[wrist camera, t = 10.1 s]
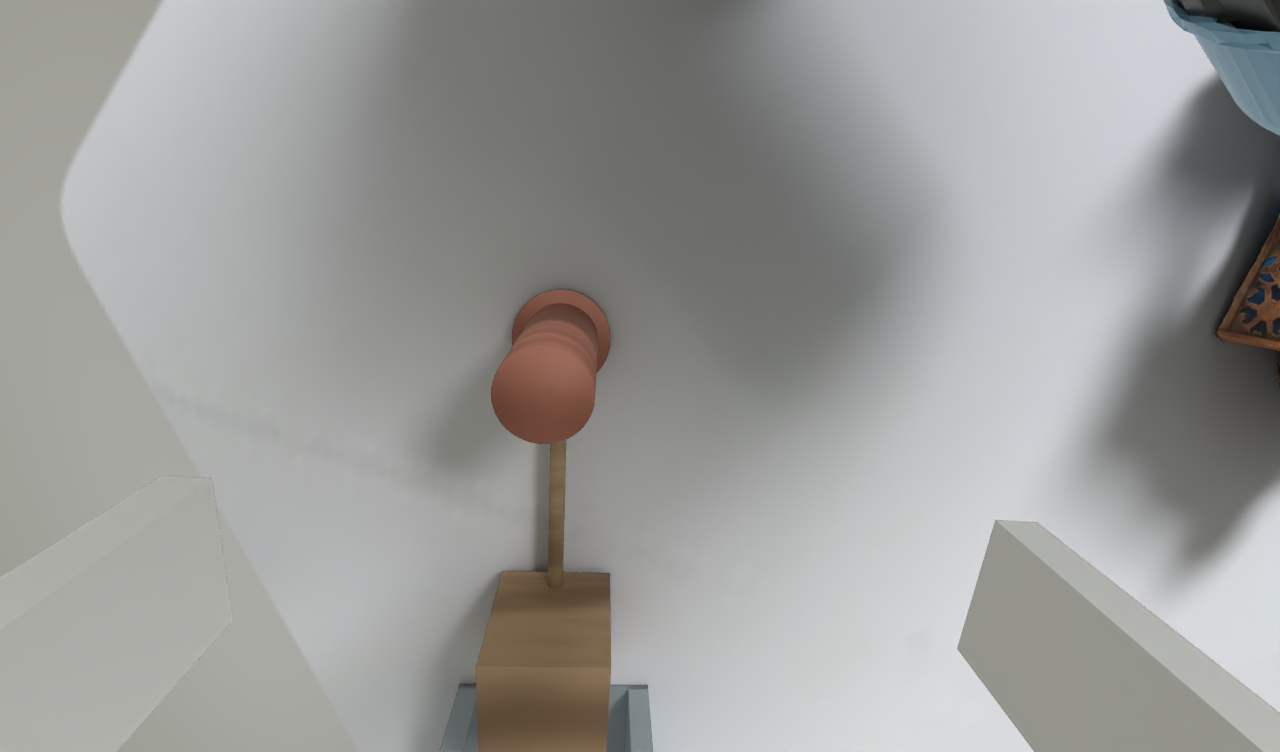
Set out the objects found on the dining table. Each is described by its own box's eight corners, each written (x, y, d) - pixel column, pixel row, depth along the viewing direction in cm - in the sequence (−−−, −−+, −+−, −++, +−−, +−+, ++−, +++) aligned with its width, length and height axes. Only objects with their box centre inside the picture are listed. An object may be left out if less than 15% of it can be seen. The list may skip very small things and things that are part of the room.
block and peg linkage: (501, 285, 29) (453, 325, 20) (624, 292, 29) (632, 333, 20) (503, 656, 35) (469, 811, 26) (605, 657, 35) (605, 810, 26)
